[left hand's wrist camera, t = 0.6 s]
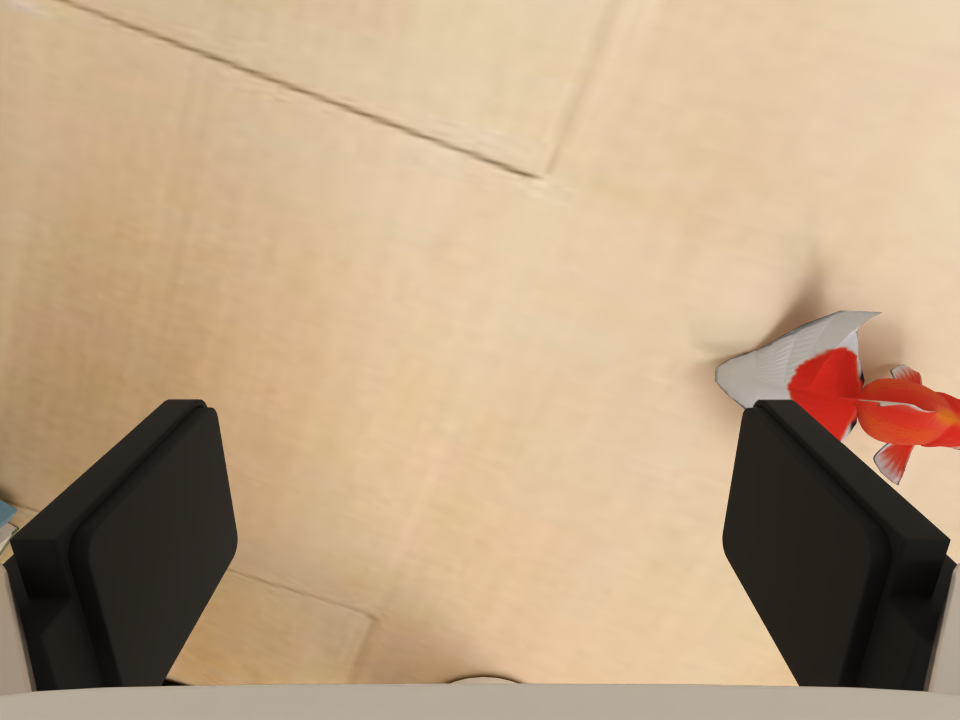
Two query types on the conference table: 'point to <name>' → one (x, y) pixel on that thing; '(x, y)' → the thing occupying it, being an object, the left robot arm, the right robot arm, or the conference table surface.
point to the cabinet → (6, 535)
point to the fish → (845, 390)
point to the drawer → (6, 513)
